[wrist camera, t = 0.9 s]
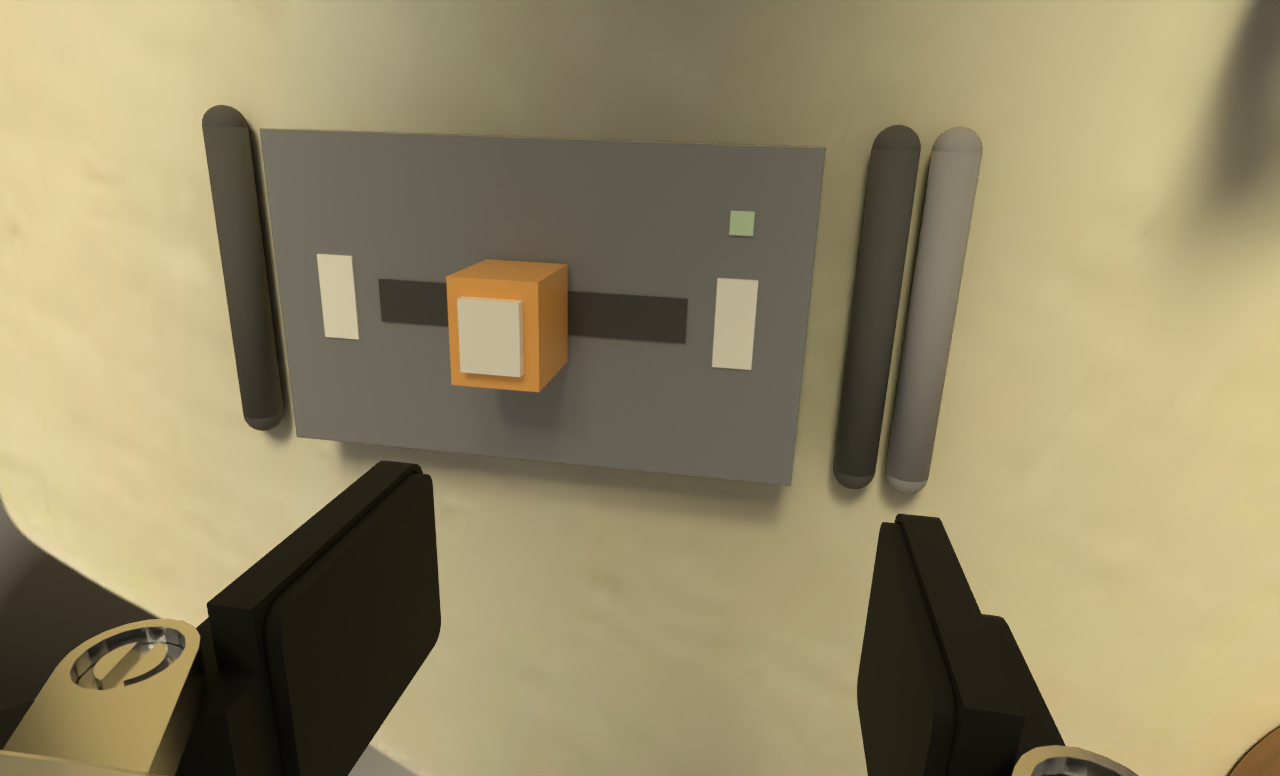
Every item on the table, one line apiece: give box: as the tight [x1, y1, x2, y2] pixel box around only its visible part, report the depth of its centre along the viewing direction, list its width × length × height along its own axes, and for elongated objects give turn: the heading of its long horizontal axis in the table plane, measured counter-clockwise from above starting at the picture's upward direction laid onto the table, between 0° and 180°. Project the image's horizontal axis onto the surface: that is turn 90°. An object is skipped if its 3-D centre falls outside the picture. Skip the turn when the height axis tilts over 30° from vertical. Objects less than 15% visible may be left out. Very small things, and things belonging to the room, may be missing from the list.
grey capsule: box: [833, 125, 921, 489], centre depth 28 cm, size 14×2×2 cm, turn 178°
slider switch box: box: [260, 129, 826, 486], centre depth 29 cm, size 12×20×3 cm, turn 88°
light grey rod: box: [885, 127, 982, 494], centre depth 28 cm, size 14×2×2 cm, turn 178°
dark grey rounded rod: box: [202, 105, 284, 431], centre depth 32 cm, size 14×2×2 cm, turn 178°
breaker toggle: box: [446, 259, 568, 392], centre depth 26 cm, size 4×3×4 cm
